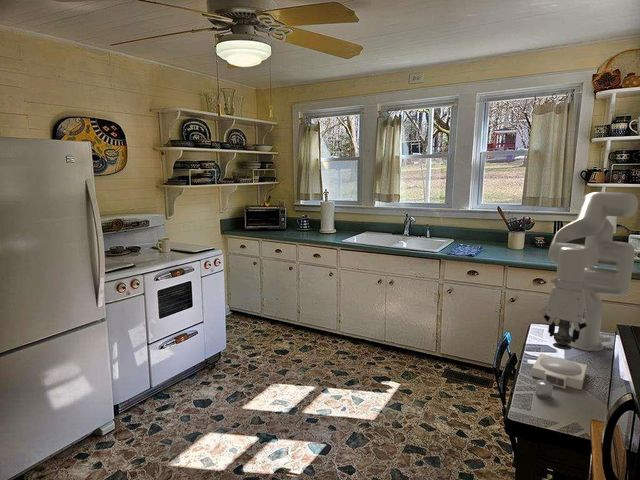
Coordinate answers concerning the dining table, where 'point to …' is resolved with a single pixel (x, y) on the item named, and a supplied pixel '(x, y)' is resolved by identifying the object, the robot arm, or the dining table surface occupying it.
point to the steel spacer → (544, 389)
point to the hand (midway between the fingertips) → (562, 337)
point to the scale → (559, 371)
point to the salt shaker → (563, 336)
